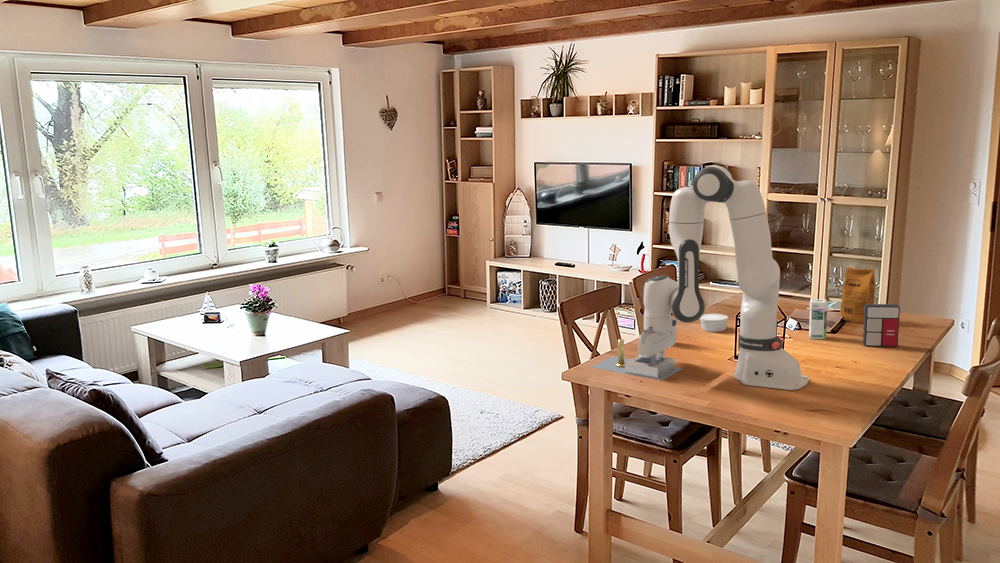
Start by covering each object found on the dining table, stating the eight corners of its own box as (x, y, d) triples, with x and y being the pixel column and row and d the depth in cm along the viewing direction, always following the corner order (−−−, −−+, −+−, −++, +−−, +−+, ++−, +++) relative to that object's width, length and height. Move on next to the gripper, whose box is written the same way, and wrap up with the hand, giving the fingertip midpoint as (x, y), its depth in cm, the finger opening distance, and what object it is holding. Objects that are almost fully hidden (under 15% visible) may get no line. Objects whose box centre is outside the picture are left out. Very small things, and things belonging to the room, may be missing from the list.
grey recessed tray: (674, 369, 253) (675, 358, 252) (657, 378, 244) (657, 367, 243) (642, 363, 260) (642, 353, 260) (625, 372, 251) (625, 362, 251)
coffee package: (846, 315, 319) (848, 264, 315) (877, 320, 310) (879, 267, 306) (835, 320, 312) (838, 267, 308) (867, 325, 303) (869, 270, 299)
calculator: (865, 346, 274) (867, 306, 271) (862, 343, 278) (864, 303, 275) (898, 347, 271) (900, 306, 268) (895, 344, 275) (897, 304, 273)
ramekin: (698, 332, 303) (699, 319, 302) (700, 325, 313) (700, 313, 312) (728, 333, 300) (728, 320, 299) (728, 326, 310) (728, 313, 309)
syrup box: (809, 339, 287) (811, 301, 284) (808, 335, 292) (810, 298, 289) (826, 339, 285) (827, 302, 282) (824, 335, 290) (826, 298, 288)
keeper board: (683, 372, 253) (683, 368, 253) (661, 385, 242) (661, 380, 242) (613, 360, 270) (613, 356, 270) (590, 371, 259) (590, 366, 259)
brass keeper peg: (629, 364, 259) (629, 339, 257) (623, 367, 256) (623, 342, 254) (619, 363, 262) (618, 337, 260) (613, 366, 259) (612, 340, 257)
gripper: (650, 332, 243) (650, 373, 246) (679, 318, 258) (679, 357, 261) (633, 329, 247) (633, 370, 250) (662, 316, 262) (662, 355, 265)
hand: (657, 363), depth 255 cm, fingers closed on grey recessed tray, 2 cm apart
